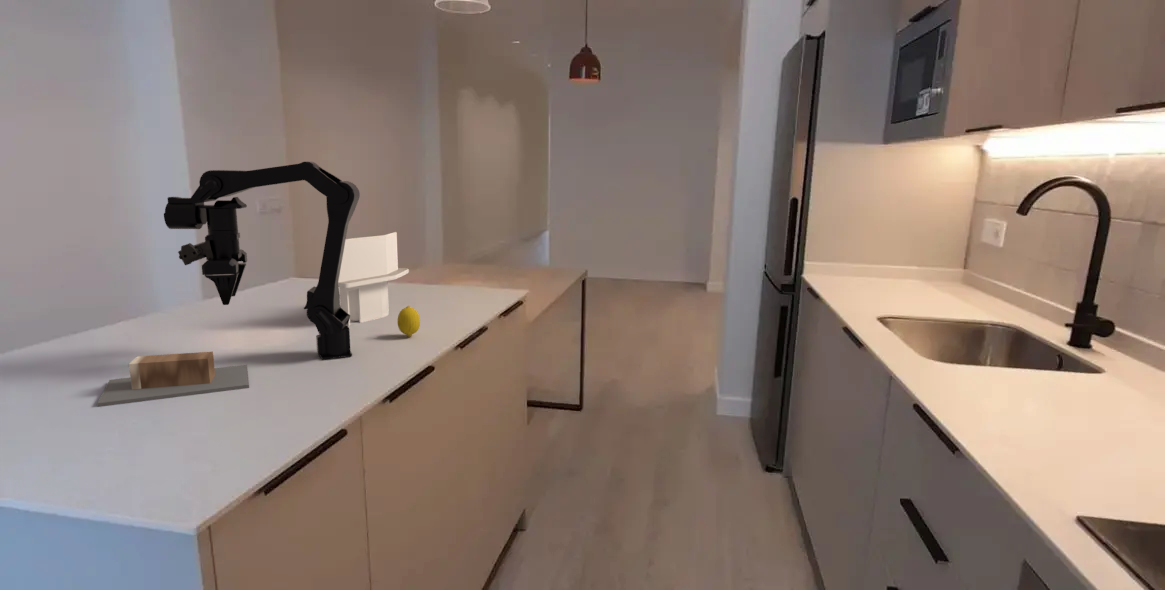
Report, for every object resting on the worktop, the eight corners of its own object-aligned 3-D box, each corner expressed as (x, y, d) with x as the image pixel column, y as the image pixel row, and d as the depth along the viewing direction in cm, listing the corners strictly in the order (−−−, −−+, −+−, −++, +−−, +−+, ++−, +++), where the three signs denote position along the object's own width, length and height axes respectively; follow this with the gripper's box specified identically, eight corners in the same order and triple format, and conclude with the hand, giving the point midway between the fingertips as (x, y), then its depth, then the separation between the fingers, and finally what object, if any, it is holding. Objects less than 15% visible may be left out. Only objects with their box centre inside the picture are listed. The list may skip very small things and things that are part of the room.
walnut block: (212, 351, 130) (137, 356, 126) (207, 358, 125) (128, 364, 121) (215, 375, 131) (140, 381, 127) (210, 383, 126) (132, 389, 122)
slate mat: (247, 367, 138) (247, 364, 138) (249, 387, 126) (248, 384, 126) (109, 382, 127) (109, 379, 127) (97, 406, 115) (97, 403, 115)
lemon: (393, 338, 163) (392, 307, 162) (407, 332, 168) (406, 302, 167) (411, 340, 161) (410, 309, 160) (424, 335, 166) (424, 305, 165)
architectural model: (352, 305, 200) (348, 229, 195) (419, 307, 198) (417, 231, 194) (308, 327, 172) (302, 239, 168) (386, 330, 171) (382, 242, 166)
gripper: (189, 225, 145) (195, 294, 148) (169, 234, 128) (177, 311, 131) (244, 225, 149) (250, 291, 152) (232, 233, 132) (239, 308, 135)
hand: (229, 300), depth 142 cm, fingers open, 9 cm apart
